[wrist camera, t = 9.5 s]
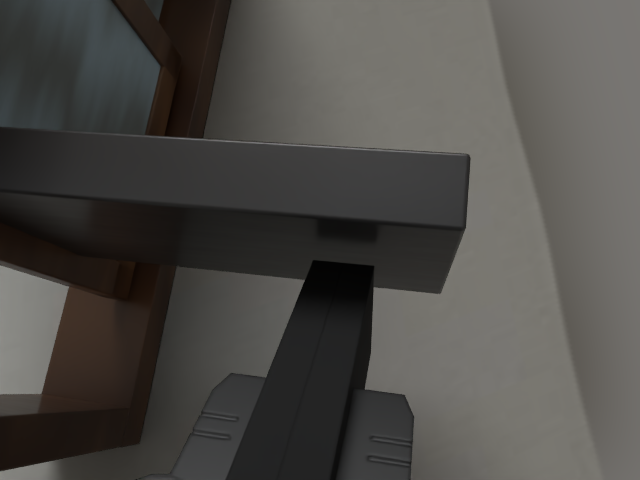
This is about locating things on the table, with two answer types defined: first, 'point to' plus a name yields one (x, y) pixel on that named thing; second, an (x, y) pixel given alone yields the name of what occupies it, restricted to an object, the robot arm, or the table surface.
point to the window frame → (116, 315)
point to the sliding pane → (188, 171)
